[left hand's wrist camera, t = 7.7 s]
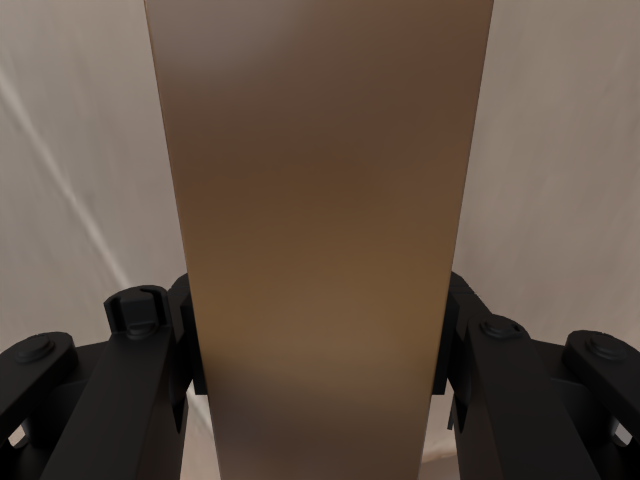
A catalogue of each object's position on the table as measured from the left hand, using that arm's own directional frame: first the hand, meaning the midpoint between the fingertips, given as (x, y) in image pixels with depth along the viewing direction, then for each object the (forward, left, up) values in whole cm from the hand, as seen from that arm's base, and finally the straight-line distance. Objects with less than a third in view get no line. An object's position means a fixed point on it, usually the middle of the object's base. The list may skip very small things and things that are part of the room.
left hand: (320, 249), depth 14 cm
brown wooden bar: (+21, 0, -1) cm, 21 cm away
